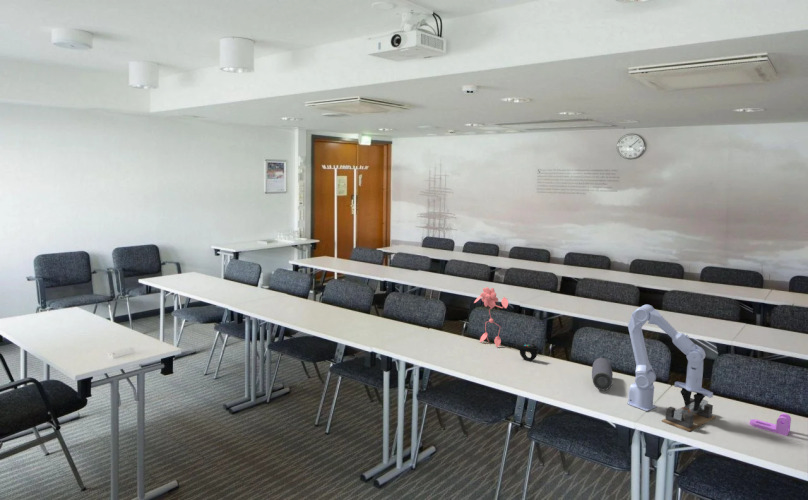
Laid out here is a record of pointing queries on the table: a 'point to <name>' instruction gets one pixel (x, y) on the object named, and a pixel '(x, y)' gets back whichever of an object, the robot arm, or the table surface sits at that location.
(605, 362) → the bluetooth speaker
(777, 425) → the bracket
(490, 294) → the figurine
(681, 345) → the robot arm
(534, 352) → the controller
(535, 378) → the table surface
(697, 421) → the board
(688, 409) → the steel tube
